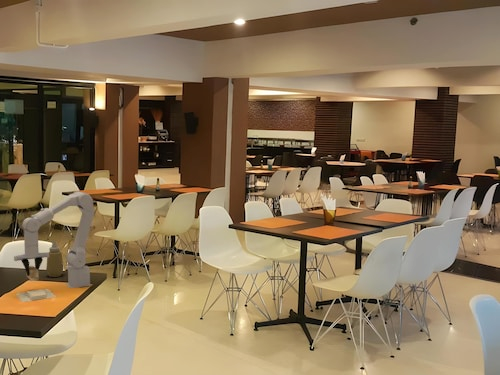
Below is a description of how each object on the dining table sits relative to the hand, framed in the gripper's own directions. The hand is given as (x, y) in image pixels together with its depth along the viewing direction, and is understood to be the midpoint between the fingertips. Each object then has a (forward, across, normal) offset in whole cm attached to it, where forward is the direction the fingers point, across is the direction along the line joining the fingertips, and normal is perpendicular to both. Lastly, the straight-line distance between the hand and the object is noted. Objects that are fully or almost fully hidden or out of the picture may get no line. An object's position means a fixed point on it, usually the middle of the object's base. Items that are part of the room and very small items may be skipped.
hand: (32, 274), depth 249 cm
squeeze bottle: (+9, -16, -24) cm, 30 cm away
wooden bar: (+2, 0, 0) cm, 2 cm away
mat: (+8, 0, +5) cm, 10 cm away
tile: (+7, 0, +3) cm, 8 cm away
